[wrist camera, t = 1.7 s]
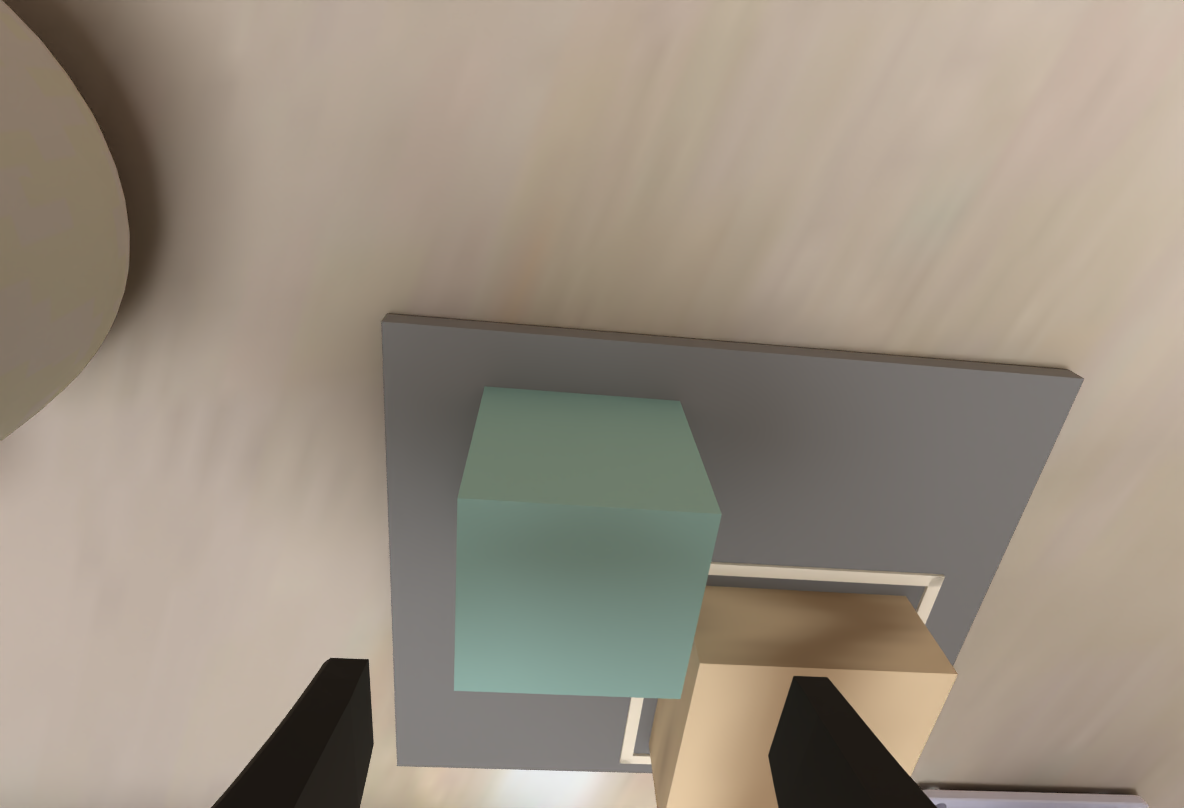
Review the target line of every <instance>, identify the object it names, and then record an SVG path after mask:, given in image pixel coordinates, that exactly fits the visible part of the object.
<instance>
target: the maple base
mask: <svg viewBox="0 0 1184 808" xmlns="http://www.w3.org/2000/svg"><path fill="white" fill-rule="evenodd" d="M957 675H958V674H957V672H956V671H955V669H954V668H953V666H952V665H951V663H950V662H949V660H948V659H947V657H946V656H945V654H944V653H943V651H942V650H941V648H940V647H939V645H938V644H937V642H936V641H935V639H934V638H933V636H932V635H931V633H930V632H929V630H928V629H927V627H926V626H925V624H924V623H923V621H922V620H921V618H920V617H919V615H918V614H917V612H916V611H915V609H914V608H913V606H912V605H911V603H910V602H909V600H908V599H907V597H906V596H895V595H875V594H856V593H837V592H817V591H798V590H778V589H759V588H739V587H720V586H706V587H705V591H704V596H703V600H702V605H701V609H700V614H699V618H698V623H697V627H696V632H695V636H694V641H693V645H692V650H691V654H690V658H689V663H688V667H687V672H686V676H685V681H684V685H683V690H682V694H681V699H661V698H658V701H657V706H656V711H655V715H654V720H653V725H652V730H651V735H650V740H649V750H650V758H651V765H652V773H653V780H654V788H655V795H656V803H657V808H778V803H777V799H776V794H775V789H774V784H773V779H772V774H771V768H770V763H769V758H768V754H769V751H770V747H771V744H772V741H773V738H774V735H775V732H776V729H777V726H778V723H779V719H780V716H781V713H782V710H783V707H784V704H785V701H786V698H787V695H788V691H789V688H790V685H791V682H792V679H793V676H811V677H828V678H829V679H830V681H831V682H832V683H833V684H834V686H835V687H836V688H837V689H838V690H839V692H840V693H841V694H842V695H843V696H844V698H845V699H846V700H847V701H848V702H849V704H850V705H851V706H852V707H853V709H854V710H855V711H856V712H857V713H858V715H859V716H860V717H861V718H862V720H863V721H864V722H865V723H866V724H867V726H868V727H869V728H870V729H871V731H872V732H873V733H874V734H875V735H876V737H877V738H878V739H879V740H880V741H881V743H882V744H883V745H884V746H885V747H886V749H887V750H888V751H889V752H890V753H891V755H892V756H893V757H894V758H895V759H896V761H897V762H898V763H899V764H900V765H901V767H902V768H903V769H904V770H905V771H906V772H907V773H908V775H909V776H911V774H912V772H913V770H914V768H915V765H916V763H917V761H918V759H919V757H920V755H921V753H922V750H923V748H924V746H925V744H926V742H927V740H928V737H929V735H930V733H931V731H932V729H933V727H934V725H935V722H936V720H937V718H938V716H939V714H940V712H941V710H942V707H943V705H944V703H945V701H946V699H947V697H948V694H949V692H950V690H951V688H952V686H953V684H954V682H955V679H956V677H957Z"/></svg>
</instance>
